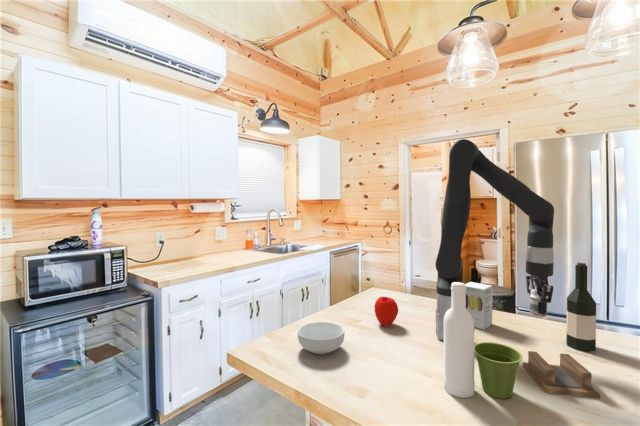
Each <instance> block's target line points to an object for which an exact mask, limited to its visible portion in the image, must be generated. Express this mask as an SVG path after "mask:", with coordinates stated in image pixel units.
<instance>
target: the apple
mask: <svg viewBox="0 0 640 426" xmlns="http://www.w3.org/2000/svg"><path fill="white" fill-rule="evenodd" d="M374 313H375V316H376V319H377V321H378V322H379V324H380V325H381V326H384V327H390V326H391V325H392V324H393V323H394V322H395V320H396V319H397V317H398V314H399V306H398V304H397V302H396V300H395V299H394V298H391V297H387V296H379V297H378V298H377V299H376V301H375V303H374Z"/></svg>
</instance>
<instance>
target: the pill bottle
mask: <svg viewBox="0 0 640 426" xmlns="http://www.w3.org/2000/svg"><path fill="white" fill-rule="evenodd" d="M539 292H540V293H542V292H541V291H539ZM531 293H532V294H531V295H529V314H530V315H531V316H533V317H538V318H539V317H540V318H546V317H547V315H548V304H547V305H546V314H539V313H538V297H537V295H536V294H535V289H531Z"/></svg>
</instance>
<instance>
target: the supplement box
mask: <svg viewBox="0 0 640 426" xmlns="http://www.w3.org/2000/svg"><path fill="white" fill-rule="evenodd" d="M464 284H465V285H466V310H467V311H468V312H469V313H470V314H471V315H472V318H473V321H474V329H480V330H483V331H485V330H486V329H488V328H489V327H490V326H492V324H493V285H491V284H484V283H480V282H473V281H469V282H467V283H464Z"/></svg>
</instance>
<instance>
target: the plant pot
mask: <svg viewBox="0 0 640 426" xmlns="http://www.w3.org/2000/svg"><path fill="white" fill-rule="evenodd" d="M474 355H475V359H476V361H477V366H478V370H479V371H478V372H479V376H480V382H481V387H482V390H483V391H484V392H486V393H487V394H488V395H489V396H490V397H493V398H495V399H501V400H502V399H503V400H504V399H507V398H511V397H512V396H513V392H514V386H515V384H516V383H515V382H516V376H517V372H518V368H519V366H520V362H521V361H522V360H523V355H522V353H521V352H519V350H517V349H516V348H514V347H511V346H509V345H506V344H502V343H498V342H492V341H484V342H481V341H480V342H477V343H474Z"/></svg>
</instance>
